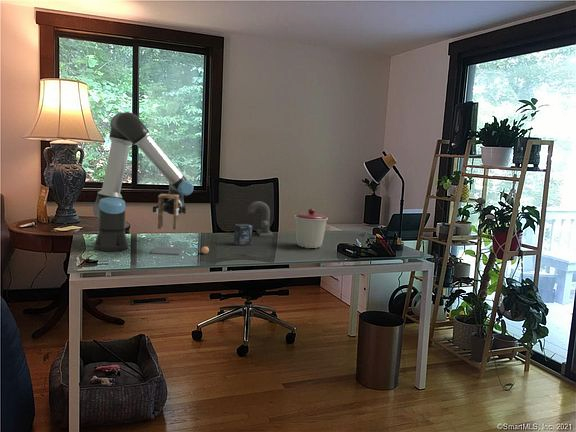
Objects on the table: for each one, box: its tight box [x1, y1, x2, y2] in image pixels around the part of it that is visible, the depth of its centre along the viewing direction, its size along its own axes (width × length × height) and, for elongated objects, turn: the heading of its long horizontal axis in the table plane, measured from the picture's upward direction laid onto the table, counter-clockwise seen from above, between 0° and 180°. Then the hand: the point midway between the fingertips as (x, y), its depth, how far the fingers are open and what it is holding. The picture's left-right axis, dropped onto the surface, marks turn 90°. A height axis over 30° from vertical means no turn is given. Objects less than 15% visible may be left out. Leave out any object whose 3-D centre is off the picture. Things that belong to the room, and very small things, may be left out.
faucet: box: [246, 200, 275, 238], centre depth 297 cm, size 18×16×20 cm
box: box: [233, 223, 253, 246], centre depth 264 cm, size 8×6×11 cm
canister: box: [294, 207, 329, 249], centre depth 268 cm, size 18×18×21 cm
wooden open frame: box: [157, 193, 179, 230], centre depth 233 cm, size 8×8×16 cm
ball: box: [201, 246, 210, 255], centre depth 236 cm, size 4×4×4 cm
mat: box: [150, 246, 183, 256], centre depth 236 cm, size 13×13×1 cm
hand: (166, 212), depth 228 cm, fingers closed on wooden open frame, 8 cm apart
